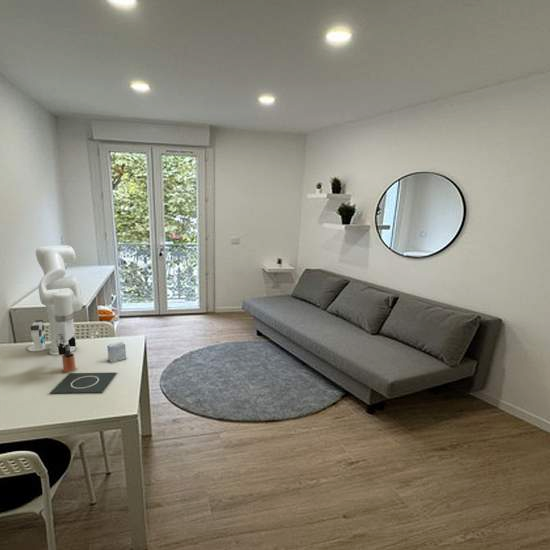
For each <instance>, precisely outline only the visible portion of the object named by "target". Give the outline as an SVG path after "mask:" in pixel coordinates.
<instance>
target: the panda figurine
mask: <svg viewBox="0 0 550 550" xmlns="http://www.w3.org/2000/svg"><path fill="white" fill-rule="evenodd" d="M30 336H31V339H32V341H33V344H32V345H30V346H28V347H27V351H29V352H40V351H45V350H47V349H49V348H45V344H51V343H50V342H45V338H46V334H45V325H44V319H35V320H34V322H33V323H32V324H31V325H30Z"/></svg>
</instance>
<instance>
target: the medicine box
mask: <svg viewBox="0 0 550 550" xmlns="http://www.w3.org/2000/svg"><path fill="white" fill-rule="evenodd" d="M106 347H107V359H108V361H109V362H110V363H114V362H119V361H122V360H125V359H127V351H126V343H125V342H123V341H120V342H115V343H111V344H108V345H107V346H106Z"/></svg>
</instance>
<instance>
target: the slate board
mask: <svg viewBox="0 0 550 550" xmlns="http://www.w3.org/2000/svg"><path fill="white" fill-rule="evenodd" d="M116 375H117V372H69V374H67V376H65V377H64V378H63V379H62V380H61V381H60V382H59V383H58V384H57V386H55V388H53V389H52V390H51V391H50V393H49V394H50V395H51V394H52V395H57V394H58V395H59V394H63V395H64V394H65V395H67V394H102V393H103V392H104V391H105V389H106V388H107V387H108V385H110V383H111V382H112V380H113V379H114V377H115V376H116Z"/></svg>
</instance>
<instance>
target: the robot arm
mask: <svg viewBox="0 0 550 550" xmlns="http://www.w3.org/2000/svg"><path fill="white" fill-rule="evenodd" d="M35 258H36V261H37V262H38V265H39V266H40V268H41V269H42V272H43V277H42V278H41V279H40V281H39V283H38V294H39V301H40V303H41V304H42V305H43V306H45V310H46V312H47V316H48V323H49V331H50V341H51V343H50V344H45V348H48V349H49V350H48V353H49V355H52V356H63V355H66V347H65V345H68V344H69V345H70V353H71V354H72V353H73V352H74V351H75V350H76V346H77V342H76V331H77V330H76V327H75V323H74V312H80V311H82V309H83V303H84V302H83V299H82V292H81V287H80V282H79V280H78V278H77V277H76V276H66V273H67V271H66V265H65V264H73V263H74V262H76V259H77V256H76V251H75V249H74V248H73V247H72V246H71V245H67V244H66V245H65V244H64V245H45V246H44V245H43V246H40V247H38V248H36V250H35Z"/></svg>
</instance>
